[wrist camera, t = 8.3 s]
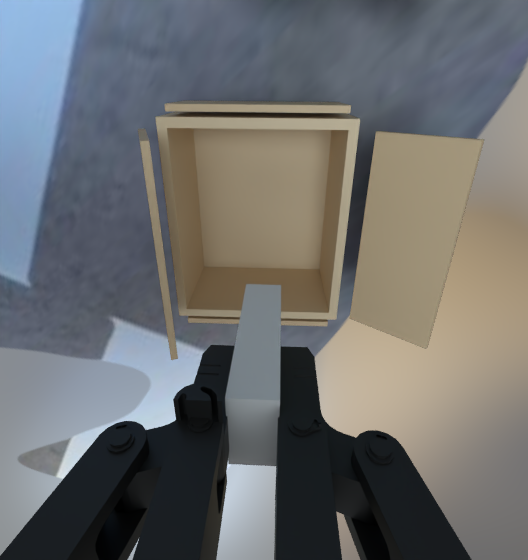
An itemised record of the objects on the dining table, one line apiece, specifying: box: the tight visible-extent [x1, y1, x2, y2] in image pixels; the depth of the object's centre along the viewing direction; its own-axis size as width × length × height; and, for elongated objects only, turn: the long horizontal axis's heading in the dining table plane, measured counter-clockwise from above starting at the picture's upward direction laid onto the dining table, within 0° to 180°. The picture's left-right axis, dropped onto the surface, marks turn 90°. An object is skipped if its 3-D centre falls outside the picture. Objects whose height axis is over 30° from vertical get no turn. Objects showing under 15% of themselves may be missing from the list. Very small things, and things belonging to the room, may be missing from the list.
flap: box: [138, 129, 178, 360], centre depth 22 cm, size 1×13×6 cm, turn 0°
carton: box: [156, 101, 360, 326], centre depth 28 cm, size 12×15×8 cm
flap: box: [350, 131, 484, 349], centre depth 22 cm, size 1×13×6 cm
